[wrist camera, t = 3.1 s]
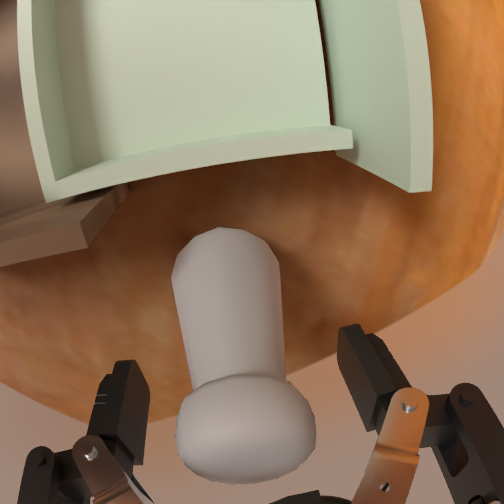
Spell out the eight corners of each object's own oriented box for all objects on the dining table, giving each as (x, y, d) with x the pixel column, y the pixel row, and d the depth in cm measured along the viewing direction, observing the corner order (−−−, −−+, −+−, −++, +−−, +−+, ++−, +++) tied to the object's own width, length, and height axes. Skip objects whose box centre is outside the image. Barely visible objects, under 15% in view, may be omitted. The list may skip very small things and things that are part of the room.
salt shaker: (191, 200, 17) (167, 398, 6) (286, 229, 19) (388, 415, 7) (166, 287, 19) (141, 490, 8) (252, 308, 21) (295, 498, 9)
